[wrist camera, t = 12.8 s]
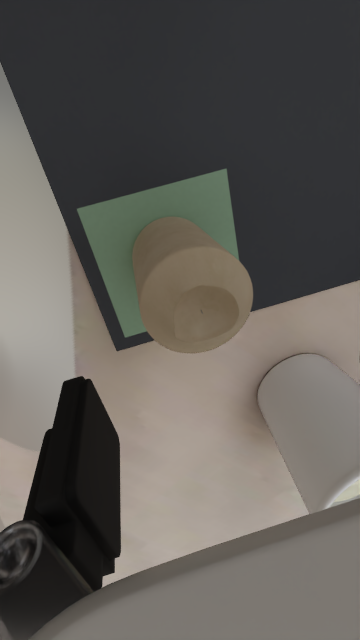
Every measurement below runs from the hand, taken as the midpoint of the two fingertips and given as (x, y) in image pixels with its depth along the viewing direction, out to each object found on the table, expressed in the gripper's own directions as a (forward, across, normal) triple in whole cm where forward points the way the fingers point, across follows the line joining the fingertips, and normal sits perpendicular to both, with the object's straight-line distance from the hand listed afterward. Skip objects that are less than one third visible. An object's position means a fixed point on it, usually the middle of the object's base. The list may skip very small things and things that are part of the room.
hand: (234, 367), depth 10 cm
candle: (+14, 0, 0) cm, 14 cm away
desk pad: (+14, -5, -6) cm, 16 cm away
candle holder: (+14, -9, +17) cm, 23 cm away
